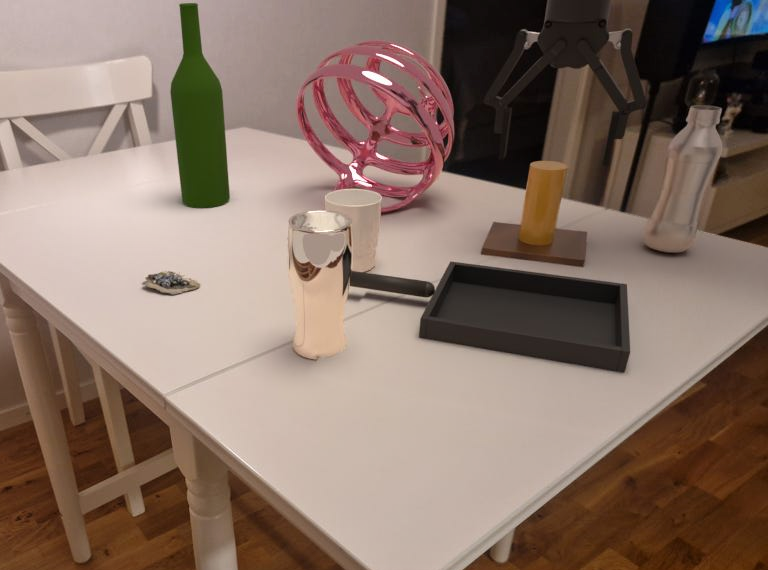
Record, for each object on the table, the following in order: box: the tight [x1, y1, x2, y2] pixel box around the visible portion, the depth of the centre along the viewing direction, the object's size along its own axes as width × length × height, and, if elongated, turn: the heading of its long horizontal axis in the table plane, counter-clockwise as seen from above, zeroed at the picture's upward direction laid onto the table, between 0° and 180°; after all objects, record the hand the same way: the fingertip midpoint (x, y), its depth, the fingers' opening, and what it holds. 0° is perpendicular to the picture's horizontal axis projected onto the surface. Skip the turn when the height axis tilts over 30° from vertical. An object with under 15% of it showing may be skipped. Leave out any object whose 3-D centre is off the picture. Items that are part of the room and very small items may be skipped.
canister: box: [518, 160, 569, 245], centre depth 95 cm, size 5×5×11 cm
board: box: [480, 221, 588, 268], centre depth 99 cm, size 14×12×2 cm
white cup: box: [324, 188, 383, 273], centre depth 93 cm, size 8×8×10 cm
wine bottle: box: [169, 2, 231, 209], centre depth 115 cm, size 9×9×32 cm
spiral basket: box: [295, 39, 456, 214], centre depth 113 cm, size 28×28×27 cm
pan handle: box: [349, 271, 436, 299], centre depth 83 cm, size 12×2×2 cm, turn 67°
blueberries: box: [141, 270, 201, 295], centre depth 90 cm, size 7×8×2 cm
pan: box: [418, 261, 631, 374], centre depth 78 cm, size 22×18×3 cm
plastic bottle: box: [643, 104, 723, 254], centre depth 92 cm, size 6×7×20 cm
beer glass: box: [286, 209, 353, 361], centre depth 71 cm, size 7×7×15 cm
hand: (552, 160), depth 92 cm, fingers open, 13 cm apart
